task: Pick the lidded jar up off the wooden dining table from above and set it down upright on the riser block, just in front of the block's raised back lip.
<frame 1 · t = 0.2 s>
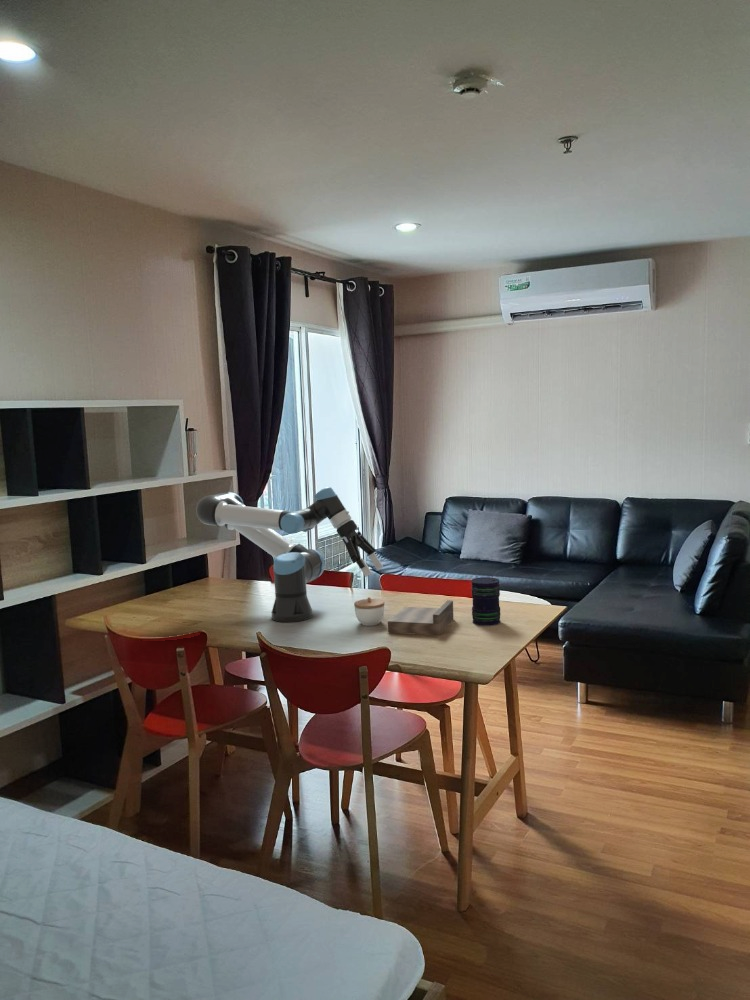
hand: (374, 571, 288), 15 cm above the table, tool tilted 35°, fingers open, 13 cm apart
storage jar: (486, 622, 269), on the table
riser block: (421, 626, 268), on the table
lidded jar: (370, 624, 274), on the table
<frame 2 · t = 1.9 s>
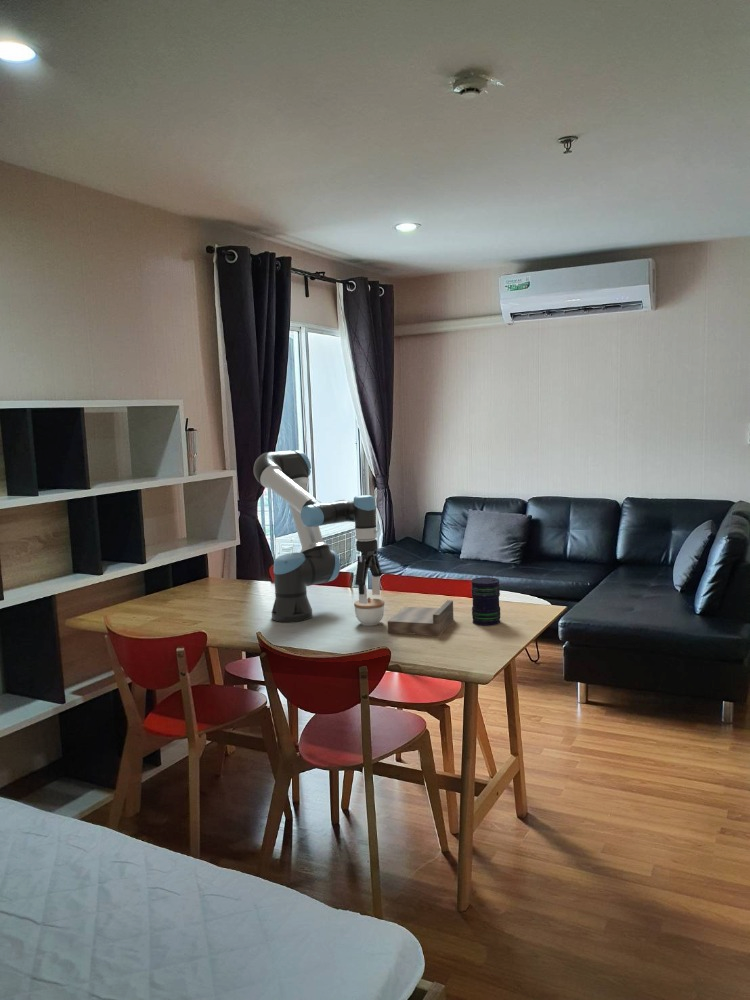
hand: (369, 598, 273), 9 cm above the table, tool pointing down, fingers open, 13 cm apart
nothing on the table moved.
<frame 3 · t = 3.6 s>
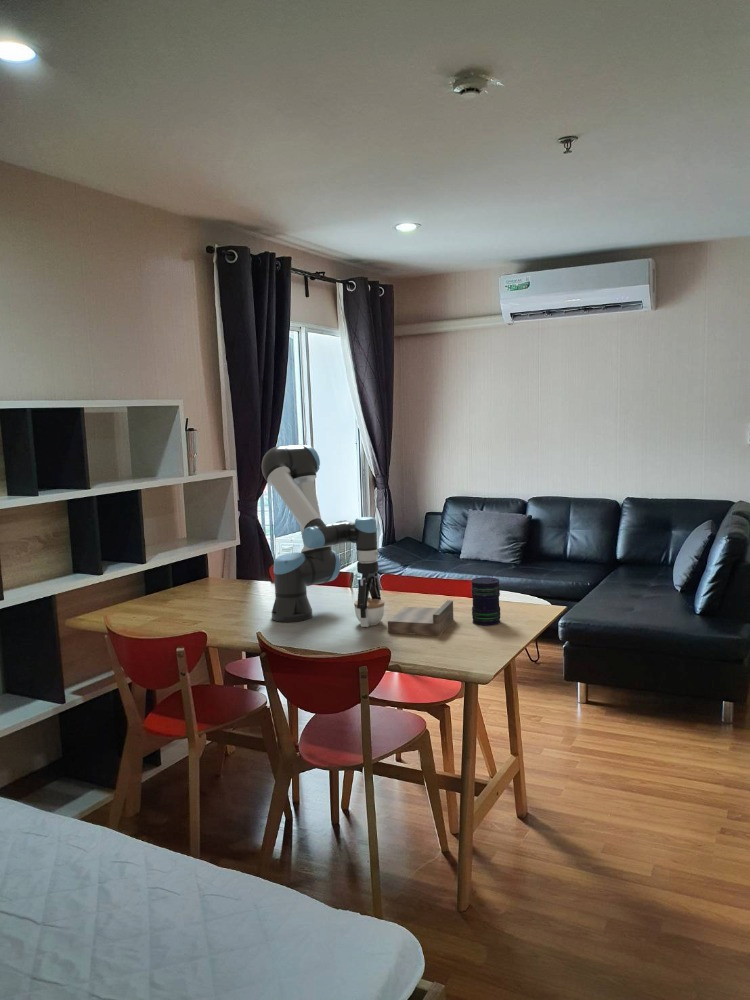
hand: (370, 622, 274), 0 cm above the table, tool pointing down, fingers closed on lidded jar, 11 cm apart
lidded jar: (370, 624, 274), on the table, touching gripper
everything else where it was.
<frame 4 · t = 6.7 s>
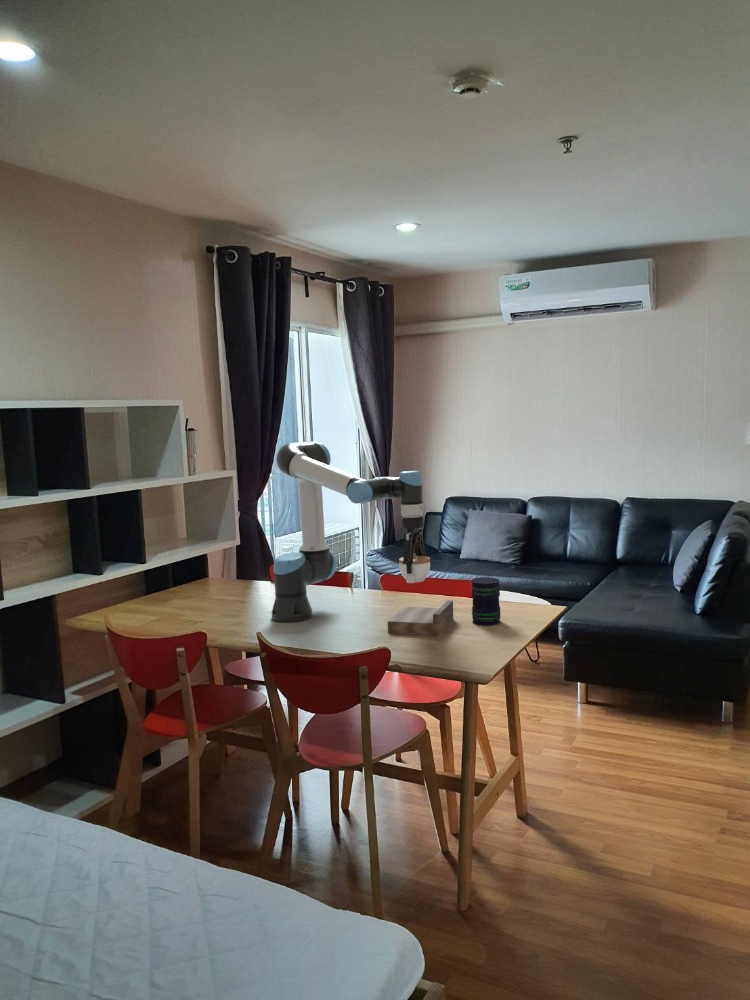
hand: (415, 579, 266), 17 cm above the table, tool pointing down, fingers closed on lidded jar, 11 cm apart
lidded jar: (415, 581, 266), point 16 cm above the table, touching gripper
everything else where it was.
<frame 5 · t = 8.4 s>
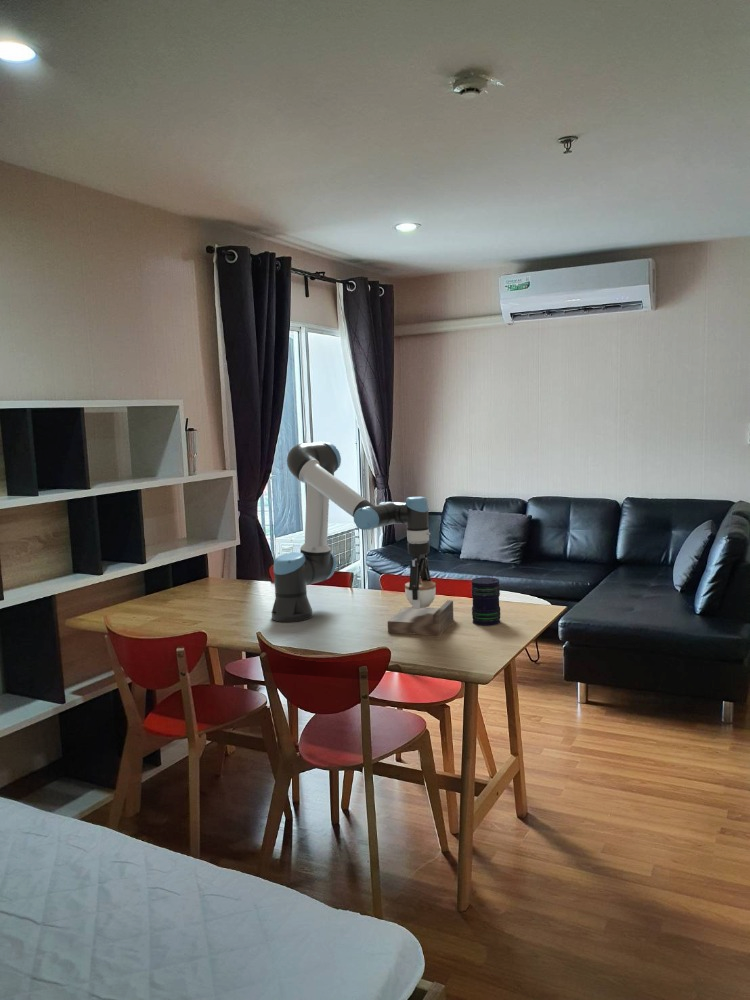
hand: (420, 604, 267), 8 cm above the table, tool pointing down, fingers closed on lidded jar, 11 cm apart
lidded jar: (421, 606, 267), point 7 cm above the table, touching gripper
everything else where it was.
when the fingers open (6 cm above the table, at t = 9.7 s): lidded jar drops 2 cm, resting on riser block.
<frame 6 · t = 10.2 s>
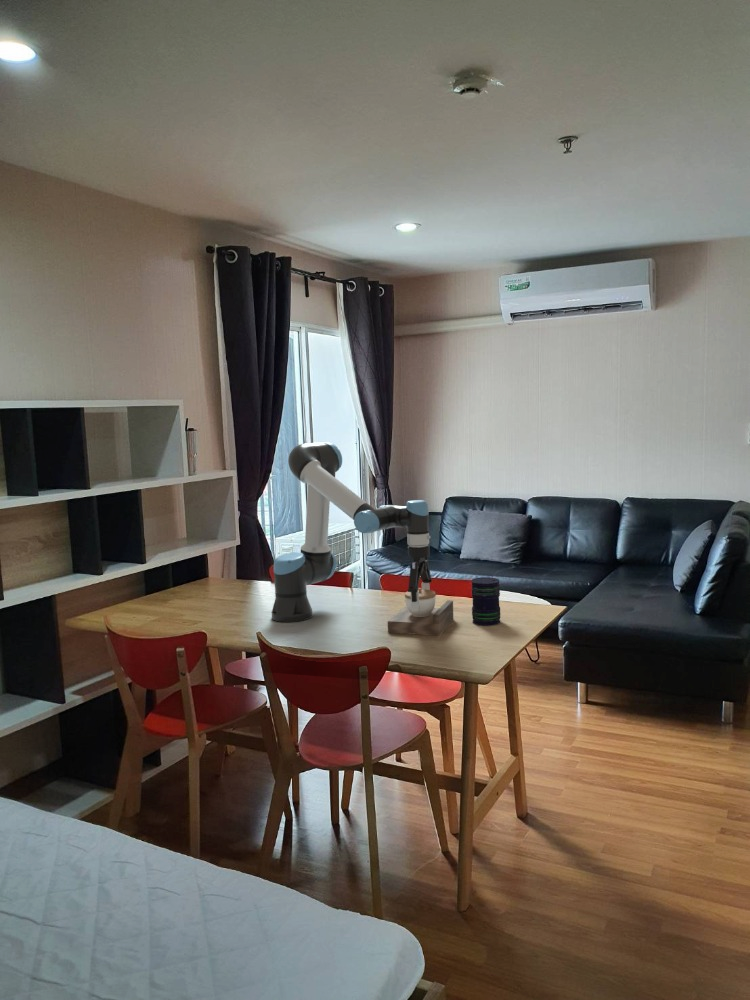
hand: (420, 605, 267), 7 cm above the table, tool pointing down, fingers open, 13 cm apart
lidded jar: (420, 615, 267), point 4 cm above the table, touching riser block
everything else where it was.
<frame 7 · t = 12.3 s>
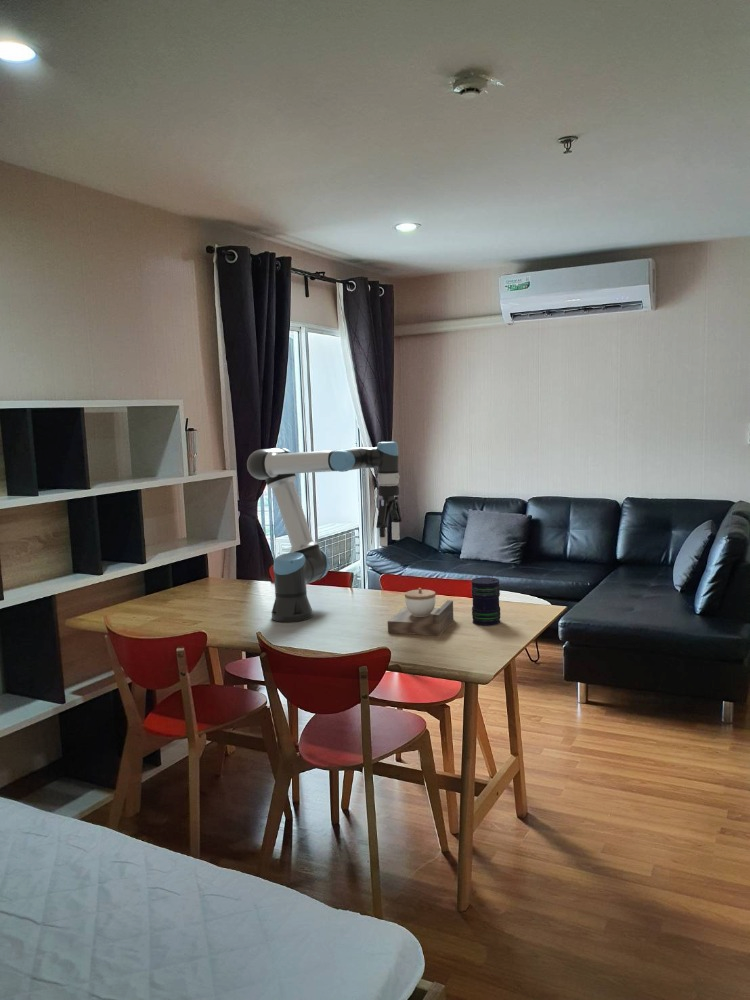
hand: (389, 542, 280), 27 cm above the table, tool pointing down, fingers open, 13 cm apart
nothing on the table moved.
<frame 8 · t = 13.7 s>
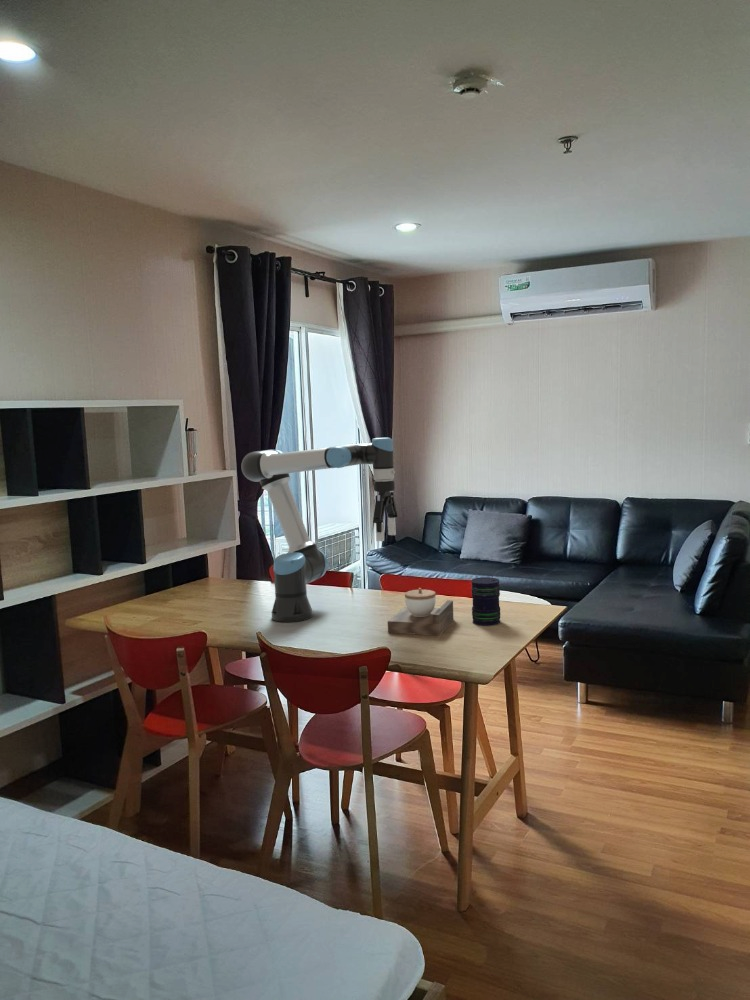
hand: (386, 538, 282), 29 cm above the table, tool pointing down, fingers open, 13 cm apart
nothing on the table moved.
at the end: lidded jar inside the target area on the riser block (0.1 cm from its centre), point 3.8 cm above the riser block's base; lidded jar tilted 0°; the gripper is holding nothing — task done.
